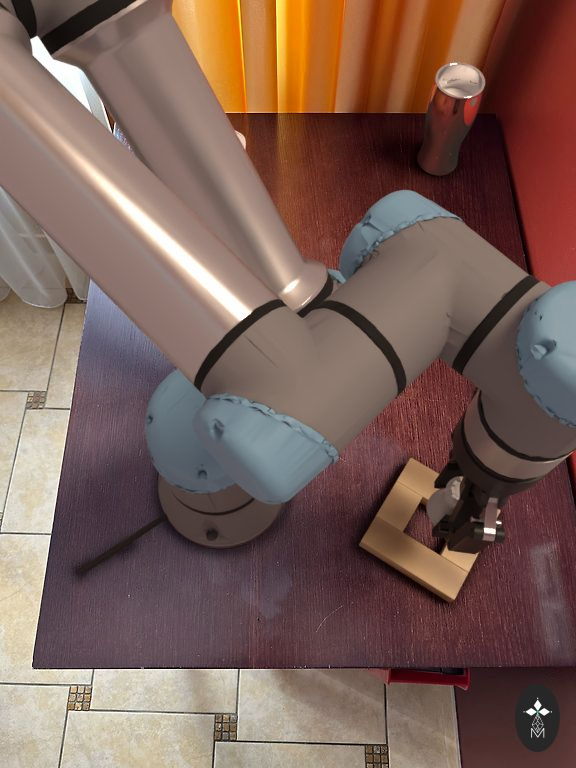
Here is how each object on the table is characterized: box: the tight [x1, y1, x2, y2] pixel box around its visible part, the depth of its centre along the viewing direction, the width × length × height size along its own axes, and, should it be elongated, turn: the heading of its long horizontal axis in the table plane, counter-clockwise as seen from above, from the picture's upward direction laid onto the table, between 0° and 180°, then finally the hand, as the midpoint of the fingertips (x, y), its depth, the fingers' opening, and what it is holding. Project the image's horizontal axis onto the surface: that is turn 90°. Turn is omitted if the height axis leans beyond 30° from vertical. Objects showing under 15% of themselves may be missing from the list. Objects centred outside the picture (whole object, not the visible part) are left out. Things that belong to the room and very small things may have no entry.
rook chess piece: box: [425, 476, 463, 527], centre depth 68 cm, size 4×4×8 cm
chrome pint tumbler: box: [416, 61, 486, 177], centre depth 97 cm, size 7×7×15 cm
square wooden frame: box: [358, 457, 502, 603], centre depth 80 cm, size 12×12×2 cm
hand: (446, 510), depth 72 cm, fingers closed on rook chess piece, 4 cm apart
